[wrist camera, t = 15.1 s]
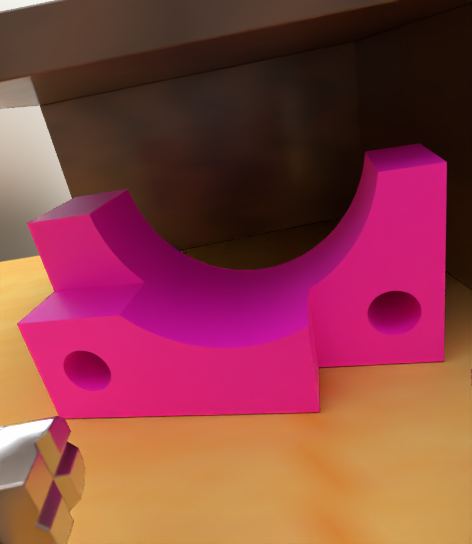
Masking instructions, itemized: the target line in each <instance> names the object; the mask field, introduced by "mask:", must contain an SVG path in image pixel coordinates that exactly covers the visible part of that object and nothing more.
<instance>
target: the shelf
mask: <svg viewBox="0 0 472 544" xmlns="http://www.w3.org/2000/svg"><path fill="white" fill-rule="evenodd" d="M38 105H40V107H41V110H42V113H43V116H44V119H45V122H46V125H47V128H48V130H49V133H50V136H51V139H52V142H53V145H54V148H55V151H56V153H57V156H58V159H59V162H60V165H61V168H62V171H63V173H64V176H65V179H66V182H67V185H68V187H69V191H70V194H71V197H72V199H73V198H75V197H79V196H86V195H92V194H99V193H105V192H111V191H118V190H124V189H128V190H129V192H130V194H131V196H132V199H133V201H134V202H135V204H136V206H137V208H138V209H139V211H140V213H141V214H142V215H143V217H144V218H145V220H146V221H147V222H148V223H149V225H150V226H151V227H152V228H153V229H154V230H155V231H156V232H157V233H158V234H159V235H160V236H161V237H162V238H163V239H164V240H165V241H166V242H168V243H169V244H170V245H171V246H173V247H174V248H176V249H177V250H182V249H187V248H192V247H197V246H202V245H207V244H212V243H217V242H222V241H227V240H232V239H236V238H241V237H246V236H251V235H256V234H261V233H266V232H271V231H276V230H281V229H286V228H290V227H295V226H300V225H305V224H310V223H315V222H320V221H325V220H330V219H335V218H339V217H344V215H345V214H346V212H347V210H348V209H349V207H350V205H351V203H352V201H353V199H354V196H355V194H356V192H357V189H358V186H359V183H360V180H361V175H362V171H363V166H364V156H365V152H366V151H373V150H379V149H385V148H392V147H398V146H405V145H411V144H417V143H420V144H421V145H423V146H424V147H426V148H427V149H429V150H430V151H431V152H433V153H434V154H436V155H437V156H439V157H440V158H442V159H443V160H445V161H446V162H447V183H446V253H445V270H446V271H447V272H449V273H450V274H451V275H453V276H454V277H456V278H457V279H458V280H460V281H461V282H462V283H464V284H465V285H467V286H468V287H469V288H471V289H472V0H55V1H50V2H45V3H40V4H36V5H31V6H26V7H21V8H16V9H11V10H6V11H2V12H0V109H2V108H15V107H27V106H38Z"/></svg>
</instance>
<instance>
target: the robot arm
mask: <svg viewBox="0 0 472 544" xmlns="http://www.w3.org/2000/svg"><path fill="white" fill-rule="evenodd" d="M471 385H472V370H471ZM70 432H71V430H70V428H69V426H68V424H67V423H66V421H65V419H64V418H62V417H59V416H55V417H50V418H44V419H39V420H33V421H27V422H22V423H16V424H10V425H8V426H0V544H67V543H68V540H69V536H70V533H71V530H72V527H73V523H74V520H73V518H72V516H71V514H70V512H69V511H70V510H71V509H72V508H73V507H74V506H75V505H76V504H77V503H78V502H79V500H80V499H81V496H82V492H83V489H84V482H85V467H84V462H83V458H82V455H81V453H80V451H79V448H77V447H76V446H74V445H72V444H71V443H69V442H67V440H68V438H69V435H70Z"/></svg>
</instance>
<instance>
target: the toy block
mask: <svg viewBox="0 0 472 544" xmlns="http://www.w3.org/2000/svg"><path fill="white" fill-rule="evenodd" d="M446 183H447V162H446V161H445V160H443V159H442V158H440V157H439V156H437V155H436V154H434V153H433V152H431V151H430V150H429V149H427V148H426V147H424V146H423V145H421V144H420V143H417V144H411V145H405V146H398V147H392V148H385V149H379V150H373V151H366V152H365V156H364V166H363V171H362V175H361V180H360V183H359V186H358V189H357V192H356V194H355V196H354V199H353V201H352V203H351V205H350V207H349V209H348V210H347V212H346V214H345V215H344V217H343V218H342V220H341V221H340V222H339V224H338V225H337V226H336V228H335V229H334V230H333V231H332V232H331V233H330V234H329V235H328V236H327V237H326V238H325V239H324V240H323V241H322V242H320V243H319V244H318V245H317V246H315V247H314V248H313V249H311V250H310V251H308V252H307V253H305V254H303V255H301V256H300V257H298V258H296V259H293V260H291V261H289V262H286V263H284V264H280V265H277V266H274V267H269V268H264V269H256V270H233V269H225V268H220V267H215V266H212V265H209V264H205V263H203V262H200V261H198V260H195V259H193V258H191V257H189V256H187V255H185V254H183V253H182V252H180V251H179V250H177V249H176V248H174V247H173V246H171V245H170V244H169V243H168V242H166V241H165V240H164V239H163V238H162V237H161V236H160V235H159V234H158V233H157V232H156V231H155V230H154V229H153V228H152V227H151V226H150V225H149V223H148V222H147V221H146V220H145V218H144V217H143V215H142V214H141V213H140V211H139V209H138V208H137V206H136V204H135V202H134V201H133V199H132V196H131V194H130V192H129V190H128V189H124V190H118V191H111V192H105V193H99V194H92V195H86V196H79V197H75V198H73V199H71V200H69V201H67V202H66V203H64V204H62V205H60V206H58V207H56V208H54V209H53V210H51V211H49V212H47V213H45V214H43V215H41V216H40V217H38V218H36V219H34V220H32V221H30V222H28V223H27V224H28V227H29V229H30V232H31V234H32V237H33V239H34V242H35V244H36V247H37V249H38V252H39V254H40V257H41V259H42V262H43V264H44V267H45V269H46V272H47V274H48V277H49V279H50V282H51V284H52V287H53V289H54V292H53V293H52V294H51V295H50V296H49V297H48V298H46V299H45V300H44V301H43V302H42V303H41V304H39V305H38V306H37V307H36V308H35V309H34V310H32V311H31V312H30V313H29V314H28V315H27V316H25V317H24V318H23V319H22V320H21V321H20V322H18V323H17V325H18V327H19V329H20V332H21V334H22V336H23V338H24V340H25V343H26V345H27V347H28V349H29V351H30V353H31V356H32V358H33V360H34V362H35V364H36V367H37V369H38V371H39V373H40V375H41V378H42V380H43V382H44V384H45V386H46V388H47V391H48V393H49V395H50V397H51V399H52V402H53V404H54V406H55V408H56V410H57V413H58V415H59V417H62V418H64V419H65V418H104V417H144V416H183V415H223V414H262V413H302V412H320V405H319V367H335V366H355V365H376V364H396V363H417V362H437V361H444V323H445V253H446Z"/></svg>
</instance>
